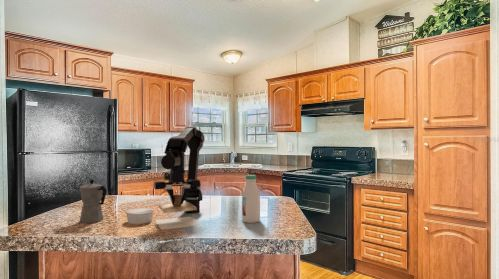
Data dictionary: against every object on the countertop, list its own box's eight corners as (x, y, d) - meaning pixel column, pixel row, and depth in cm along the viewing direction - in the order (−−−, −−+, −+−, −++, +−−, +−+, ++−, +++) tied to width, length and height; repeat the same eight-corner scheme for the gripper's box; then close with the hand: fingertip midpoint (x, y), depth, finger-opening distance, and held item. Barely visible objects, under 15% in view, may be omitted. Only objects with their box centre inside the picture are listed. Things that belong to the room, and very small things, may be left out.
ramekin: (144, 227, 126) (145, 214, 126) (120, 225, 128) (120, 212, 128) (158, 220, 137) (158, 208, 137) (135, 219, 139) (135, 207, 139)
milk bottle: (262, 219, 137) (262, 174, 138) (256, 224, 130) (256, 176, 130) (245, 218, 140) (245, 173, 140) (239, 222, 133) (239, 175, 133)
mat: (191, 217, 141) (191, 216, 141) (201, 226, 126) (201, 224, 126) (154, 221, 134) (154, 220, 134) (161, 231, 120) (161, 229, 120)
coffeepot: (71, 221, 134) (71, 179, 135) (90, 216, 143) (90, 177, 143) (96, 225, 128) (96, 181, 128) (114, 220, 136) (115, 179, 137)
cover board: (188, 204, 139) (188, 191, 139) (196, 209, 127) (196, 196, 127) (158, 206, 133) (158, 194, 133) (164, 213, 121) (164, 198, 121)
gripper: (194, 165, 142) (193, 199, 141) (151, 166, 134) (151, 203, 133) (201, 167, 132) (201, 204, 131) (155, 168, 124) (155, 208, 123)
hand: (177, 204), depth 130 cm, fingers closed on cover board, 3 cm apart
